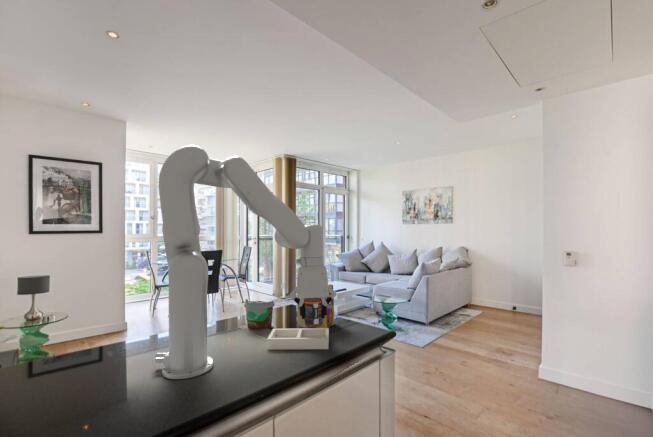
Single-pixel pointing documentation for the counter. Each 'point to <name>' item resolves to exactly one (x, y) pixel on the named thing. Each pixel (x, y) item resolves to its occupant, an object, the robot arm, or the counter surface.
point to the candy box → (329, 313)
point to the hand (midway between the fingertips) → (313, 317)
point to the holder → (298, 338)
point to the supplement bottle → (313, 312)
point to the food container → (259, 314)
